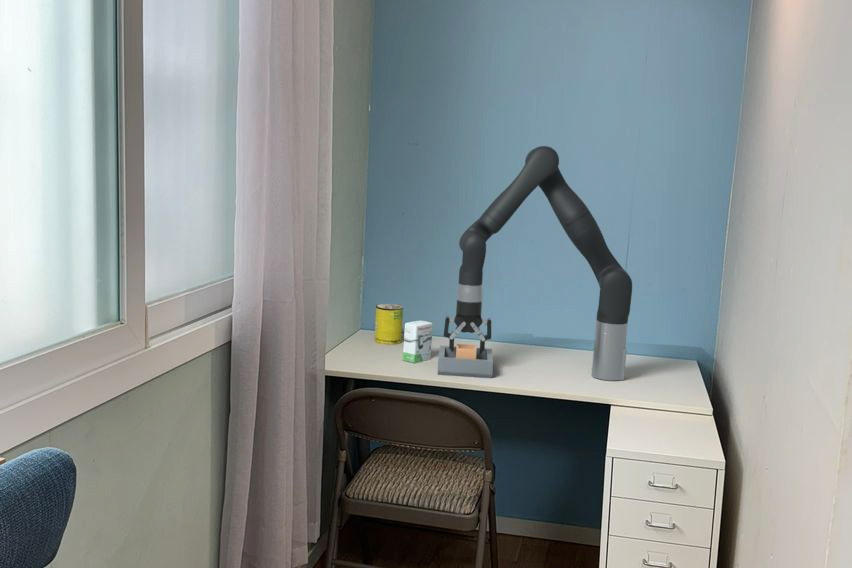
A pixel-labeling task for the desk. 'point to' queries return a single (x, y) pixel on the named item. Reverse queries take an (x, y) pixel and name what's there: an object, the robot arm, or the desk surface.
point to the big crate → (465, 363)
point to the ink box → (417, 341)
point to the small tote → (466, 351)
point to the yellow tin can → (388, 324)
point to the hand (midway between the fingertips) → (466, 351)
